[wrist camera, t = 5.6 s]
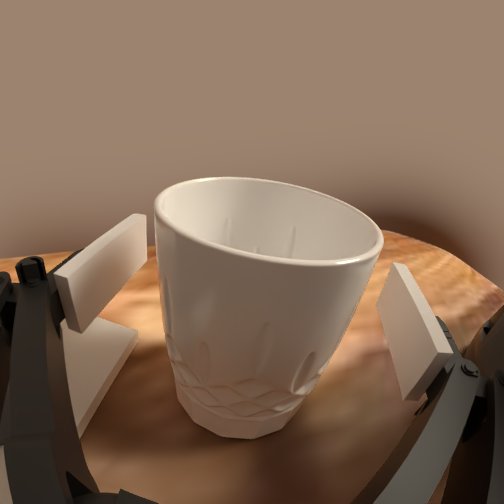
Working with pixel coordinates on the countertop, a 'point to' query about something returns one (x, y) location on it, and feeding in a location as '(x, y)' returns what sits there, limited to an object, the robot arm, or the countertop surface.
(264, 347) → the white cup
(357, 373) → the countertop surface
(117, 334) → the trivet
